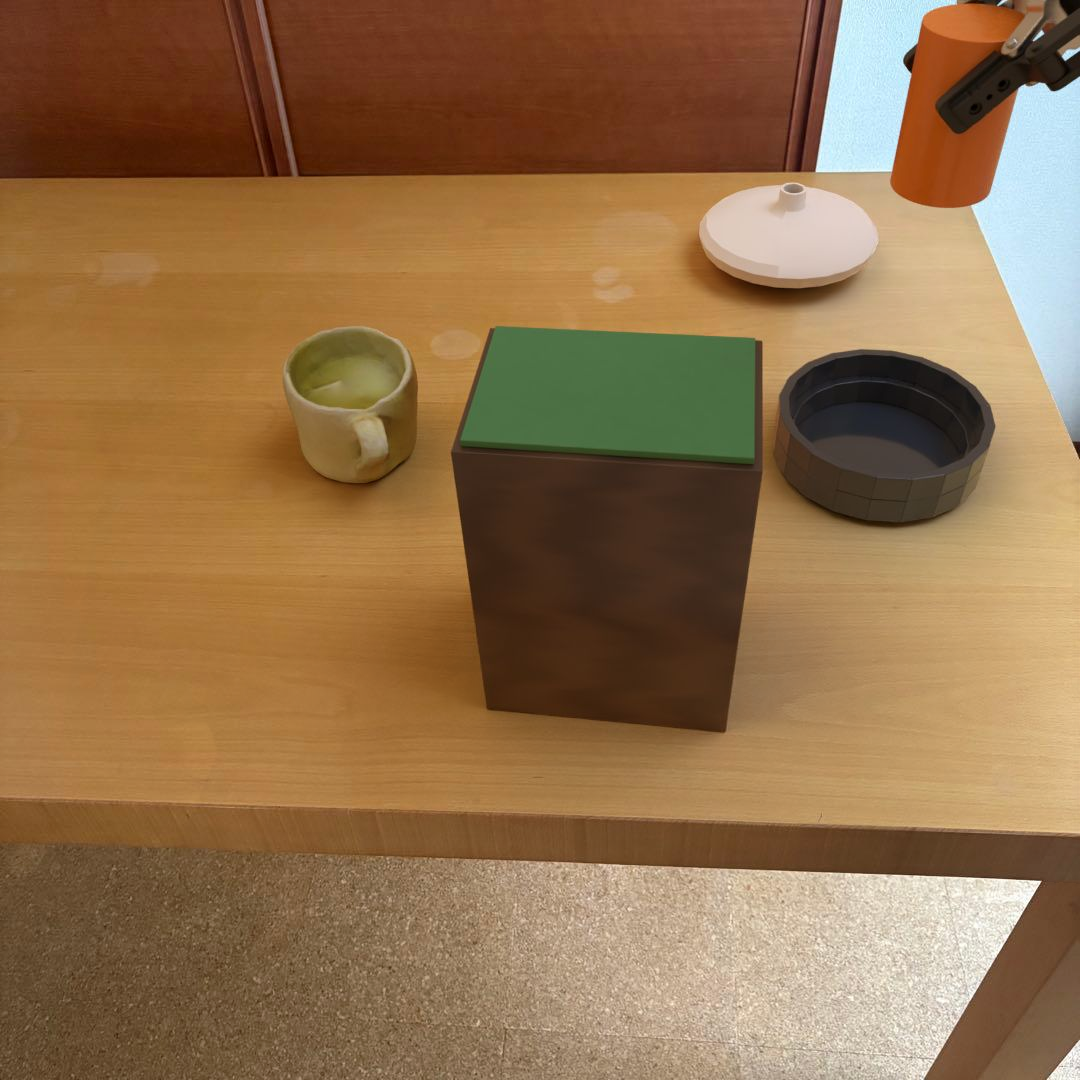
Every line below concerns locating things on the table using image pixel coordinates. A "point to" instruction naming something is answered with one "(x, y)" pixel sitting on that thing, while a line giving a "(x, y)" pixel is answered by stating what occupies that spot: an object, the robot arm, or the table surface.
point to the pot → (882, 435)
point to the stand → (608, 578)
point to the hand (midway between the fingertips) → (929, 96)
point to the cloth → (616, 395)
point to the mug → (353, 402)
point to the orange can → (925, 139)
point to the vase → (788, 236)
